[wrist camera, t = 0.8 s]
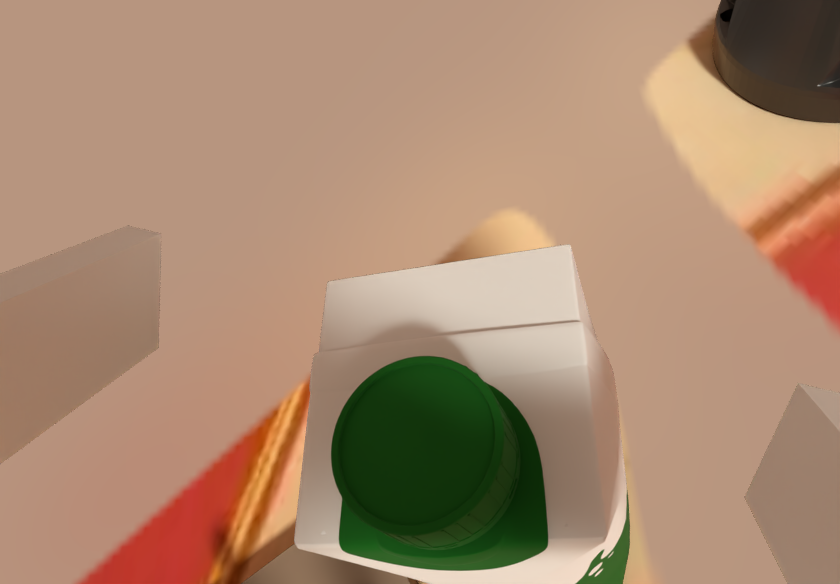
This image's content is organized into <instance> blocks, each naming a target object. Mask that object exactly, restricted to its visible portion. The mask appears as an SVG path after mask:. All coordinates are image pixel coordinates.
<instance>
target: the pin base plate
mask: <svg viewBox="0 0 840 584" xmlns="http://www.w3.org/2000/svg"><path fill="white" fill-rule="evenodd" d="M241 584H418V583H417V581H416V579H412V578H408V577H405V576H401V575H397V574H393V573H390V572H386V571H382V570H378V569H374V568H371V567H367V566H363V565H359V564H355V563H352V562H348V561H344V560H340V559H336V558H333V557H329V556H325V555H321V554H318V553H313V552H309V551H305V550H301V549H298V548H297V546H296V545H295V544H293V545H292V546H291V547H289V548H288V549H287V550H285V551H284V552H283V553H281V554H280V555H279V556H277V557H276V558H275V559H273V560H272V561H271V562H269V563H268V564H267V565H265V566H264V567H263V568H261V569H260V570H259V571H257V572H256V573H255V574H253V575H252V576H251V577H249V578H248V579H247V580H245V581H244V582H243V583H241Z"/></svg>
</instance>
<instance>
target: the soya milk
mask: <svg viewBox="0 0 840 584" xmlns="http://www.w3.org/2000/svg"><path fill="white" fill-rule="evenodd" d="M294 543H295V545H296V546H297V548H298V549H301V550H305V551H309V552H313V553H318V554H321V555H325V556H329V557H333V558H336V559H340V560H344V561H348V562H352V563H355V564H359V565H363V566H367V567H371V568H374V569H378V570H382V571H386V572H390V573H393V574H397V575H401V576H405V577H408V578H412V579H416V580H419V581H423V582H426V583H429V584H623V579H624V574H625V569H626V564H627V559H628V554H629V546H630V521H629V504H628V492H627V483H626V474H625V466H624V457H623V449H622V441H621V432H620V424H619V410H618V400H617V393H616V386H615V379H614V373H613V370H612V367H611V364H610V362H609V360H608V357H607V355H606V353H605V352H604V350H603V348H602V347H601V345H600V344H599V342H598V341H597V337H596V334H595V331H594V328H593V324H592V321H591V318H590V315H589V311H588V308H587V305H586V301H585V298H584V294H583V290H582V287H581V283H580V279H579V275H578V271H577V267H576V263H575V260H574V256H573V253H572V249H571V246H570V245H569V244H567V245H560V246H553V247H547V248H540V249H534V250H527V251H521V252H514V253H508V254H501V255H495V256H488V257H482V258H475V259H469V260H462V261H456V262H449V263H443V264H436V265H430V266H423V267H417V268H410V269H404V270H398V271H391V272H384V273H378V274H372V275H365V276H359V277H352V278H346V279H339V280H333V281H328V282H327V289H326V296H325V304H324V312H323V320H322V329H321V337H320V346H319V353H316V354H314V357H313V362H312V369H311V377H310V402H309V410H308V418H307V427H306V436H305V445H304V454H303V463H302V472H301V481H300V490H299V499H298V508H297V517H296V526H295V535H294Z"/></svg>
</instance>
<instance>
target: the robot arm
mask: <svg viewBox="0 0 840 584" xmlns="http://www.w3.org/2000/svg"><path fill="white" fill-rule="evenodd" d="M713 58H714V62H715V65H716V67H717V70H718V71H719V73H720V75H721V76H722V78H723V79H724V81H725V82H726V83H727V84H728V85H729V86H730V87H731V88H732V89H733V90H734V91H735V92H737V93H738V94H739V95H741V96H742V97H743V98H745V99H747V100H748V101H750V102H752V103H753V104H755V105H757V106H759V107H762V108H764V109H766V110H769V111H772V112H775V113H778V114H781V115H784V116H788V117H793V118H797V119H803V120H810V121H818V122H834V123H840V0H721V2H720V5H719V7H718V11H717V14H716V19H715V28H714V37H713ZM160 268H161V233H158V232H153V231H149V230H145V229H140V228H136V227H132V226H126V227H123V228H120V229H118V230H115V231H113V232H110V233H107V234H105V235H102V236H99V237H97V238H94V239H91V240H89V241H86V242H83V243H81V244H78V245H76V246H73V247H70V248H67V249H65V250H62V251H60V252H57V253H54V254H51V255H49V256H46V257H43V258H41V259H38V260H35V261H33V262H30V263H28V264H25V265H22V266H20V267H17V268H14V269H12V270H9V271H6V272H4V273H1V274H0V464H1V463H3V462H4V461H5V460H7V459H8V458H9V457H11V456H12V455H13V454H15V453H16V452H18V451H19V450H20V449H22V448H23V447H24V446H26V445H27V444H28V443H30V442H31V441H32V440H34V439H35V438H36V437H38V436H39V435H41V434H42V433H43V432H45V431H46V430H47V429H49V428H50V427H51V426H53V425H54V424H56V423H57V422H58V421H60V420H61V419H62V418H64V417H65V416H67V415H68V414H69V413H70V412H72V411H73V410H75V409H76V408H77V407H79V406H80V405H81V404H83V403H84V402H85V401H87V400H88V399H90V398H91V397H92V396H94V395H95V394H96V393H98V392H99V391H101V390H102V389H103V388H104V387H106V386H107V385H109V384H110V383H111V382H113V381H114V380H115V379H117V378H118V377H120V376H121V375H122V374H124V373H125V372H126V371H128V370H129V369H130V368H132V367H133V366H134V365H136V364H137V363H139V362H140V361H141V360H142V359H144V358H145V357H147V356H148V355H149V354H151V353H152V352H154V351H155V350H156V349H158V348H159V311H160V310H159V308H160ZM745 500H746V502H747V503H748V506H749V507H750V509H751V512H752V514H753V516H754V518H755V520H756V522H757V524H758V526H759V528H760V529H761V532H762V533H763V536H764V538H765V539H766V542H767V544H768V546H769V548H770V550H771V551H772V554H773V556H774V558H775V560H776V562H777V564H778V566H779V567H780V570H781V572H782V574H783V576H784V578H785V580H786V582H787V584H840V393H838V392H833V391H830V390H825V389H821V388H817V387H812V386H808V385H804V384H800V383H798V385H797V387H796V389H795V391H794V393H793V395H792V397H791V399H790V401H789V404H788V406H787V408H786V410H785V412H784V414H783V417H782V419H781V421H780V423H779V425H778V427H777V429H776V431H775V433H774V435H773V438H772V440H771V442H770V444H769V446H768V448H767V450H766V452H765V454H764V457H763V459H762V461H761V463H760V465H759V467H758V470H757V471H756V474H755V476H754V478H753V480H752V482H751V484H750V486H749V488H748V491H747V493H746V495H745Z"/></svg>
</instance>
